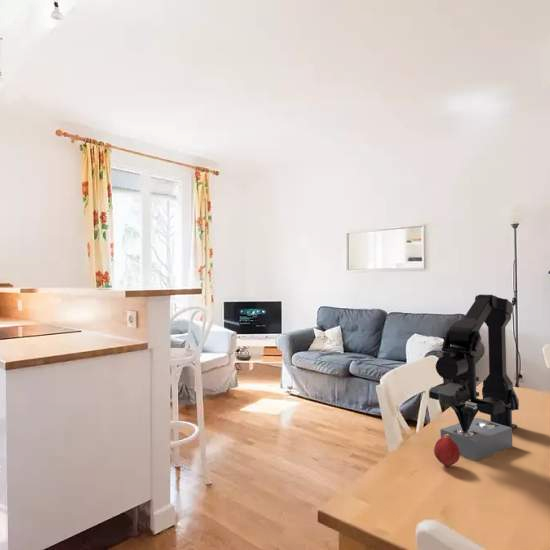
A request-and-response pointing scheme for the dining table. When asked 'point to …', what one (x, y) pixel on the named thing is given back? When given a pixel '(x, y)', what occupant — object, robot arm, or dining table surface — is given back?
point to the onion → (446, 451)
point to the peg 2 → (487, 425)
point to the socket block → (480, 439)
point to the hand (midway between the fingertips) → (465, 431)
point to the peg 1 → (468, 433)
